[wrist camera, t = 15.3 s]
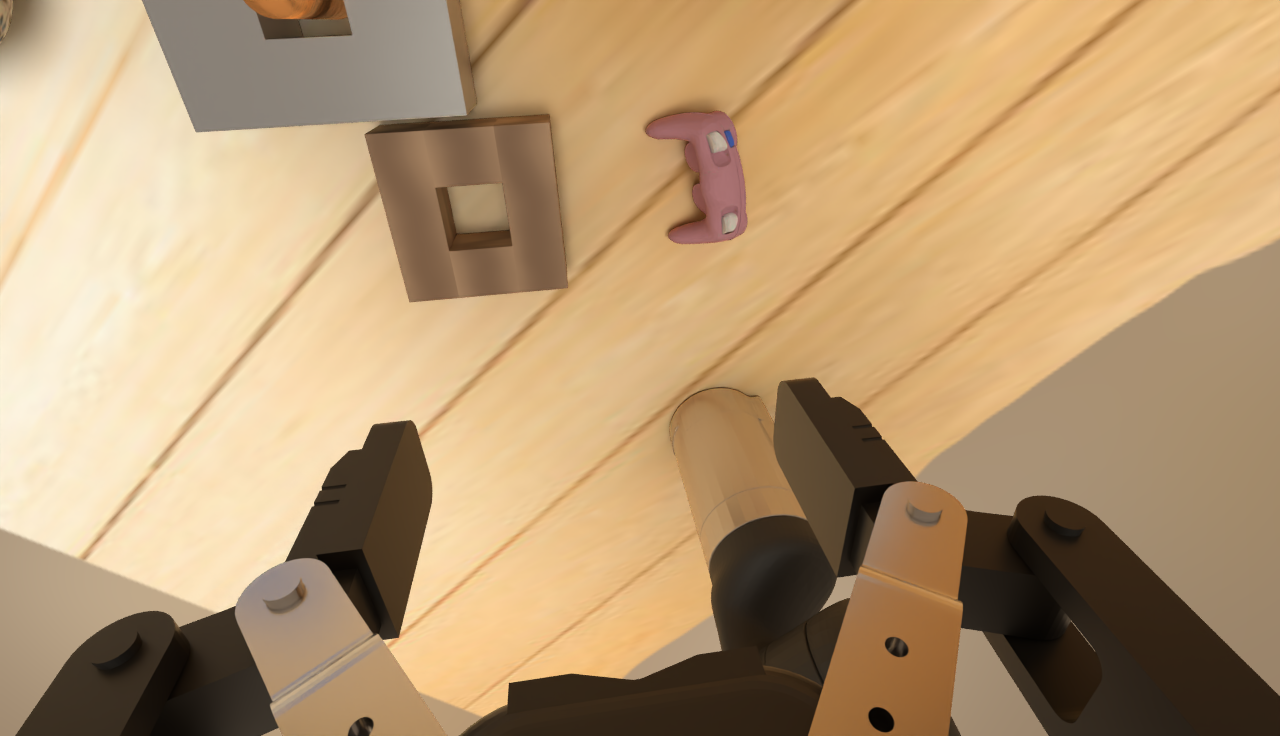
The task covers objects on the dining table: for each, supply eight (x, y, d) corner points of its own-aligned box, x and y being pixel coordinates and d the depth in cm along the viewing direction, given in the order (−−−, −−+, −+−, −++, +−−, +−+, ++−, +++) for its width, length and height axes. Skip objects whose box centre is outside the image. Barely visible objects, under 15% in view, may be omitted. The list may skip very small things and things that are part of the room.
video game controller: (706, 225, 50) (765, 238, 45) (664, 245, 48) (720, 262, 43) (685, 103, 45) (748, 102, 40) (637, 121, 43) (696, 122, 38)
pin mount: (549, 114, 43) (549, 122, 39) (566, 269, 49) (567, 288, 45) (379, 125, 41) (364, 134, 38) (419, 282, 48) (409, 302, 44)
